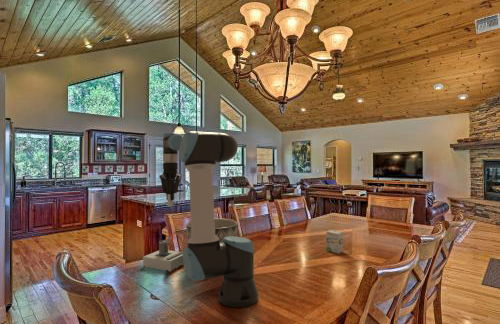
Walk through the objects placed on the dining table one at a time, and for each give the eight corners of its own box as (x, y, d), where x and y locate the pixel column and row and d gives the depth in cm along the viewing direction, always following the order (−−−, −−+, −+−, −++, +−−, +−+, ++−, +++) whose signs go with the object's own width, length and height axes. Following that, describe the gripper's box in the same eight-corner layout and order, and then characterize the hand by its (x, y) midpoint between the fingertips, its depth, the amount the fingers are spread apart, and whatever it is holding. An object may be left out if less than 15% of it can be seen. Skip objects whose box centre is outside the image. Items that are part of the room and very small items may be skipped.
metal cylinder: (164, 266, 145) (164, 242, 145) (156, 265, 147) (156, 241, 147) (170, 263, 150) (170, 240, 150) (162, 262, 151) (162, 239, 151)
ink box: (325, 250, 172) (325, 231, 172) (330, 249, 176) (330, 229, 176) (338, 253, 166) (338, 233, 166) (343, 252, 169) (343, 232, 170)
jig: (170, 271, 138) (170, 259, 138) (143, 266, 144) (143, 255, 144) (187, 262, 151) (187, 251, 151) (161, 258, 157) (161, 248, 157)
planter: (187, 278, 129) (187, 230, 130) (184, 260, 154) (185, 219, 155) (243, 273, 136) (243, 226, 136) (232, 256, 161) (232, 217, 162)
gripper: (184, 162, 154) (184, 206, 153) (164, 162, 158) (164, 205, 158) (176, 161, 147) (176, 208, 146) (155, 162, 151) (155, 206, 151)
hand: (170, 206), depth 152 cm, fingers closed
